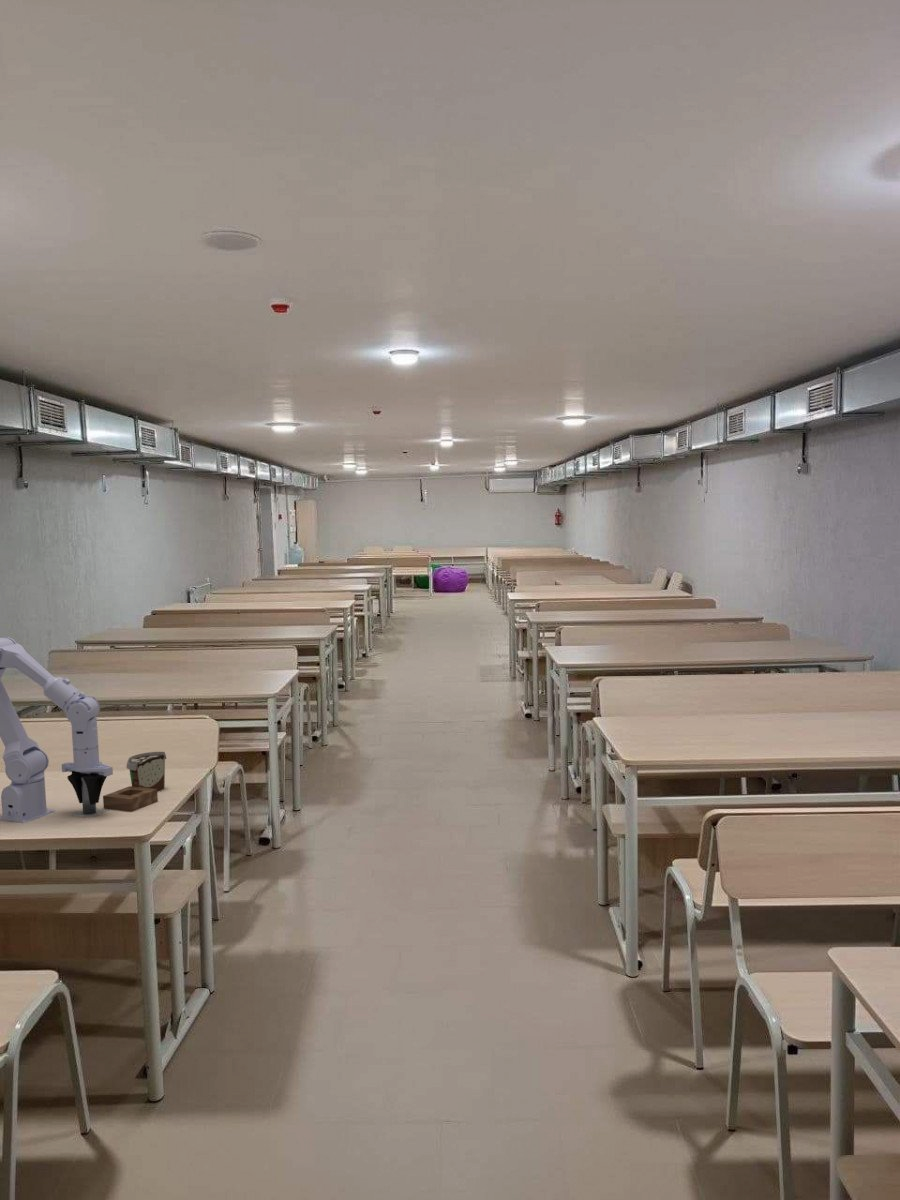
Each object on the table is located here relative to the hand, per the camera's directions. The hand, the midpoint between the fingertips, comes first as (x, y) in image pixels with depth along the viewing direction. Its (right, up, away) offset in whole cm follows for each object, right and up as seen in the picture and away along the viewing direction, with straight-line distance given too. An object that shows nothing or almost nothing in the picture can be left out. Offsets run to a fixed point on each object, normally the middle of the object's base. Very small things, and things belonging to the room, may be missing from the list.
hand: (89, 802), depth 215 cm
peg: (0, -3, 0) cm, 2 cm away
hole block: (+8, -2, +6) cm, 10 cm away
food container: (+7, -2, +17) cm, 19 cm away
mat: (0, -3, 0) cm, 3 cm away
